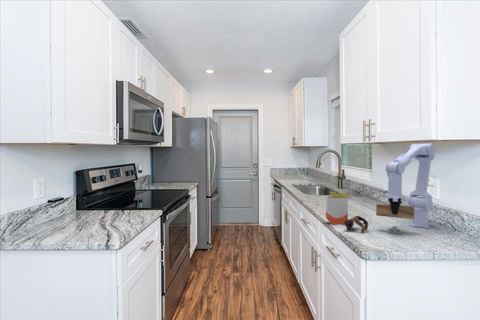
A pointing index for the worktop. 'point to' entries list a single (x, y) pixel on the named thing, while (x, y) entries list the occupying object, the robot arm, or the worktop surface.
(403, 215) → the batten
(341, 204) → the french fries container
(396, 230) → the fulcrum
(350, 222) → the dark brown curved piece
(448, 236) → the worktop surface
